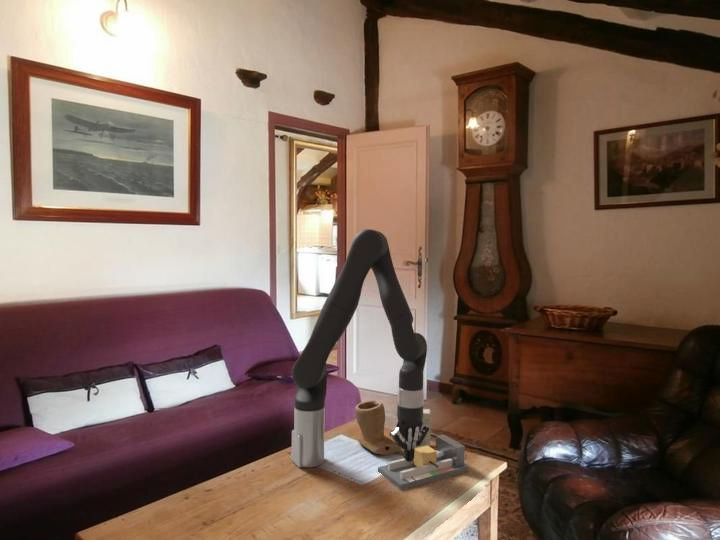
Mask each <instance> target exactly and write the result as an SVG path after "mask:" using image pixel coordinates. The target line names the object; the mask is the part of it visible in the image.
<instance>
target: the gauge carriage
mask: <svg viewBox="0 0 720 540" xmlns="http://www.w3.org/2000/svg"><path fill="white" fill-rule="evenodd" d="M442 456H444V452H443V451H438V452H437V451H436V449H434V448H432V447H431V446H430V447H429V446H423V447H418V448H415V454H414V459H413V464H414V465H415V466H417V467H419V466H423V465H427V464H433V465H434V466H436V467H437V468H438V467H439V466H438V465H436V464H434V463H435V462H436V458H438V457H442Z"/></svg>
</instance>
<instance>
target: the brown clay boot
mask: <svg viewBox="0 0 720 540" xmlns="http://www.w3.org/2000/svg"><path fill="white" fill-rule="evenodd" d="M354 416H355V419H356V422H357V425H358V426H359V429H360V433H361V435H360V436H358V437H357V441H358V443H359V444H360V445H361V446H363V447H364V448H365V449H367V450H369V451H371V452H372V453H374V454H377V455H382V456H383V455H384V456H387V455H392V454H395V453H397V452H400V451H401V450H402V448H401V447H399V446H398V445H397V444H396V442H395V441H394V440H393V439H392V438H389V437H388V436H386V435H385V432H384V431H385V425H386V411H385V405H384V404H383V403H382V402H381V401H377V400H366V401H362V402H360V403H358V404H356V405H355V408H354Z"/></svg>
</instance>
